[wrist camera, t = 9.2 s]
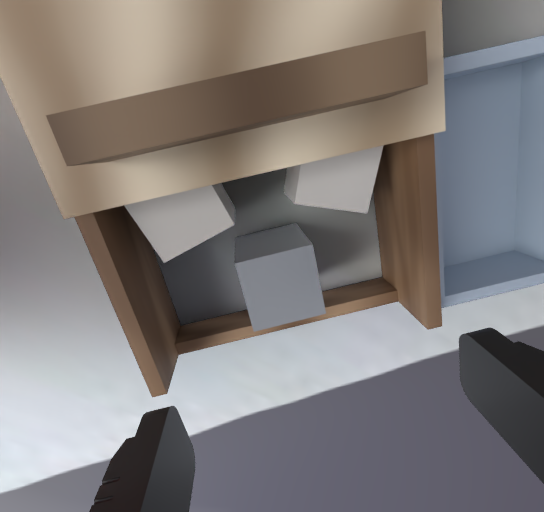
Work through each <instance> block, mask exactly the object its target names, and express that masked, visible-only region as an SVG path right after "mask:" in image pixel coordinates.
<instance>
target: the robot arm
mask: <svg viewBox="0 0 544 512" xmlns="http://www.w3.org/2000/svg"><path fill="white" fill-rule="evenodd" d="M459 357H460V358H459V359H460V381H461V385H462V387H463V390H464V392H465V394H466V395H467V397H468V399H469V400H470V402H471V403H472V404H473V405H474V406H475V408H477V410H478V411H479V412H480V413H481V414H482V415H483V416H484V417H485V419H486V420H487V421H488V422H489V423H490V424H491V425H492V427H494V429H495V430H496V431H497V432H498V433H499V434H500V435H501V437H502V438H503V439H504V440H505V441H506V442H507V443H508V444H509V446H510V447H511V448H512V449H513V450H514V451H515V452H516V453H517V454H518V456H519V457H520V458H521V459H522V460H523V461H524V462H525V463H526V464H527V466H528V467H529V468H530V469H531V470H532V471H533V472H534V474H536V476H537V477H538V478H539V479H540V480H541V481H542V483H543V484H544V351H542V350H539V349H536V348H534V347H531V346H529V345H526V344H524V343H521V342H515V343H513V342H512V341H510V340H509V339H507V338H506V337H505V336H504V335H502V334H501V333H499V332H498V331H497V330H495V329H493V328H486V329H482V330H478V331H474V332H470V333H466V334H462V335H461V336H460V338H459ZM194 473H195V455H194V449H193V446H192V443H191V441H190V438H189V436H188V434H187V431H186V429H185V427H184V424H183V422H182V420H181V417H180V415H179V413H178V411H177V409H176V408H175V407H174V406H170V407H166V408H162V409H158V410H154V411H150V412H147V413H145V414H144V415H143V417H142V419H141V422H140V424H139V427H138V430H137V433H136V435H135V437H132V438H128V439H126V440H125V442H124V443H123V444H122V446H121V447H120V448H119V450H118V451H117V452H116V454H115V455H114V456H113V458H112V459H111V461H110V464H109V466H108V468H107V471H106V473H105V475H104V478H103V480H102V485H101V486H100V488H99V490H98V492H97V495H96V497H95V499H94V505H92V507H91V509H90V512H189V507H190V500H191V494H192V487H193V480H194Z"/></svg>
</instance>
